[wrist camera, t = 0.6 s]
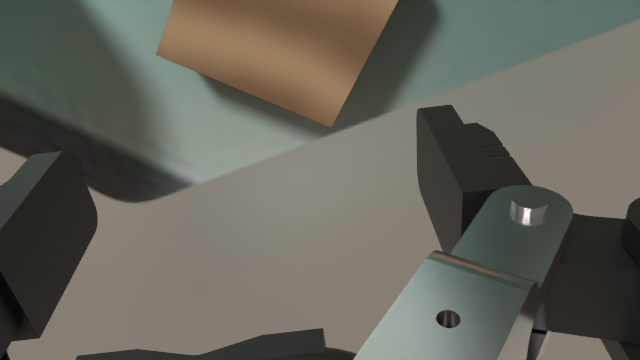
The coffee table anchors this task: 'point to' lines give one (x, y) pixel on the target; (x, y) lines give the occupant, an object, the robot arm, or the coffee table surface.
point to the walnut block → (278, 47)
